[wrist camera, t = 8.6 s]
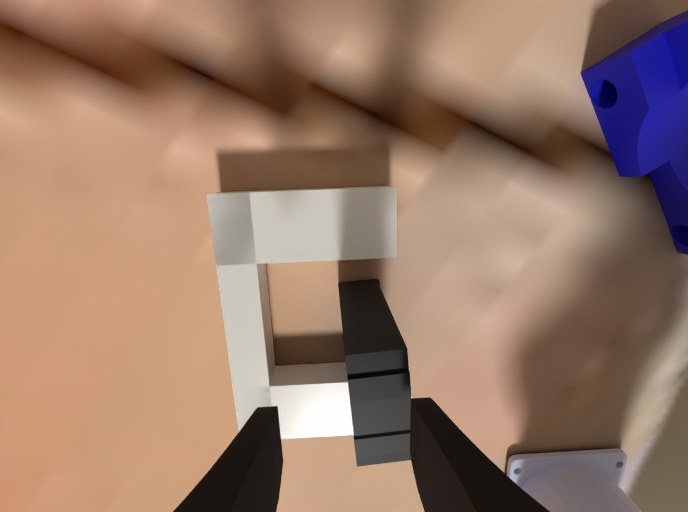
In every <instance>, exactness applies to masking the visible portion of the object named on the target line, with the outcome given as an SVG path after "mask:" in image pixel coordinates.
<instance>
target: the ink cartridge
mask: <svg viewBox="0 0 688 512" xmlns="http://www.w3.org/2000/svg"><path fill="white" fill-rule="evenodd" d="M338 286H339V297H340V307H341V318H342V328H343V339H344V350H345V360H346V369H347V378H348V388H349V397H350V406H351V415H352V424H353V434H354V443H355V452H356V461H357V466H364V465H373V464H381V463H389V462H397V461H406V460H411V456H410V416H411V387H410V373H409V367H408V353H407V347H406V345H405V343H404V340H403V338H402V336H401V334H400V331H399V329H398V327H397V325H396V322H395V320H394V318H393V316H392V313H391V311H390V309H389V307H388V305H387V302H386V300H385V298H384V296H383V293H382V291H381V289H380V286H379V280H378V279H370V280H361V281H352V282H343V283H338Z"/></svg>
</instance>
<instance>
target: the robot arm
mask: <svg viewBox="0 0 688 512" xmlns="http://www.w3.org/2000/svg"><path fill="white" fill-rule="evenodd" d="M410 456H411V461H412V466H413V470H414V475H415V479H416V484H417V488H418V492H419V495H420V498H421V501H422V504H423V507H424V510H425V512H642V511H641V510H640V509H639V508H638V507H637V506H636V505H635V504H634V503H633V501H632V500H631V499H630V498H629V497H628V496H627V495H626V494H625V493H624V492H623V491H622V490H621V485H622V480H623V475H624V471H625V466H626V461H627V454H626V453H625V452H624V451H623V450H621V449H618V448H615V449H599V450H583V451H567V452H550V453H534V454H518V455H512V456H511V457H510V458H509V460H508V466H507V475H506V474H505V473H504V472H503V471H501V470H500V469H499V468H498V467H497V466H496V465H495V464H494V463H493V462H492V461H491V460H490V459H489V458H488V457H487V456H486V455H485V454H484V453H483V452H482V451H481V450H480V449H479V448H478V447H477V446H476V445H475V444H474V443H473V442H472V441H471V440H470V439H469V438H468V437H467V436H466V435H465V434H464V433H463V432H462V431H461V430H460V429H459V428H458V427H457V426H456V425H455V424H454V423H453V422H452V420H451V419H450V418H449V417H448V416H447V415H446V414H445V413H444V412H443V411H442V409H441V408H440V407H439V406H438V405H437V404H436V403H435V402H434V401H433V400H432V399H431V398H413V399H411V416H410ZM282 466H283V455H282V445H281V435H280V425H279V415H278V406H270V407H257V409H256V410H255V411H254V412H253V413H252V415H251V416H250V418H249V419H248V420H247V422H246V423H245V425H244V426H243V427H242V429H241V430H240V431H239V433H238V434H237V435H236V437H235V438H234V440H233V441H232V442H231V444H230V445H229V446H228V447H227V449H226V450H225V451H224V452H223V454H222V455H221V456H220V458H219V459H218V460H217V461H216V463H215V464H214V465H213V466H212V468H211V469H210V470H209V471H208V473H207V474H206V475H205V476H204V477H203V478H202V480H201V481H200V482H199V483H198V484H197V485H196V487H195V488H194V489H193V490H192V491H191V492H190V493H189V495H188V496H187V497H186V498H185V499H184V500H183V501H182V503H181V504H180V505H179V506H178V507H177V508H176V509H175V510H174V511H173V512H276V509H277V504H278V500H279V492H280V484H281V475H282Z"/></svg>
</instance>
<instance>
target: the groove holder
mask: <svg viewBox="0 0 688 512" xmlns="http://www.w3.org/2000/svg"><path fill="white" fill-rule="evenodd" d="M206 195H207V203H208V210H209V217H210V225H211V232H212V239H213V247H214V254H215V261H216V269H217V276H218V283H219V291H220V298H221V305H222V313H223V320H224V327H225V335H226V342H227V349H228V357H229V364H230V371H231V379H232V386H233V394H234V401H235V408H236V416H237V423H238V430H239V431H240V430H241V429H242V427H243V426H244V425H245V423H246V422H247V420H248V419H249V418H250V416H251V415H252V413H253V412H254V411H255V410H256V409H257V407H270V406H278V415H279V425H280V435H281V439H292V438H309V437H325V436H342V435H354V434H353V424H352V415H351V406H350V397H349V388H348V378H347V369H346V362H338V363H319V364H300V365H281V366H276V365H275V354H274V344H273V334H272V324H271V313H270V303H269V293H268V282H267V272H266V263H288V262H311V261H334V260H357V259H380V258H396V225H397V187H394V186H369V187H342V188H316V189H289V190H262V191H235V192H217V193H210V194H206Z"/></svg>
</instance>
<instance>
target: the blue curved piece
mask: <svg viewBox="0 0 688 512" xmlns="http://www.w3.org/2000/svg"><path fill="white" fill-rule="evenodd" d="M581 75H582V78H583V81H584V83H585V86H586V89H587V91H588V94H589V97H590V99H591V102H592V105H593V107H594V110H595V112H596V115H597V118H598V120H599V123H600V126H601V128H602V131H603V134H604V136H605V139H606V141H607V144H608V147H609V149H610V152H611V155H612V157H613V160H614V163H615V165H616V168H617V171H618V173H619V176H620V177H632V176H644V175H645V174H647V173H650V176H651V179H652V182H653V185H654V188H655V190H656V193H657V196H658V199H659V202H660V204H661V207H662V210H663V213H664V216H665V219H666V221H667V224H668V227H669V230H670V233H671V236H672V238H673V241H674V244H675V247H676V250H677V252H678V253H683V254H688V10H687V11H685V12H683V13H681V14H679V15H677V16H675V17H673V18H670V19H668V20H666V21H664V22H662V23H661V24H659V25H658V26H656V27H654V28H653V29H651V30H650V31H648V32H646V33H645V34H643V35H641V36H640V37H638V38H637V39H635V40H633V41H632V42H630V43H629V44H627V45H625V46H624V47H622V48H620V49H619V50H617V51H616V52H614V53H612V54H611V55H609V56H608V57H606V58H604V59H603V60H601V61H599V62H598V63H596V64H595V65H593V66H591V67H590V68H588V69H587V70H585V71H583V72H582V73H581Z"/></svg>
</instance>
